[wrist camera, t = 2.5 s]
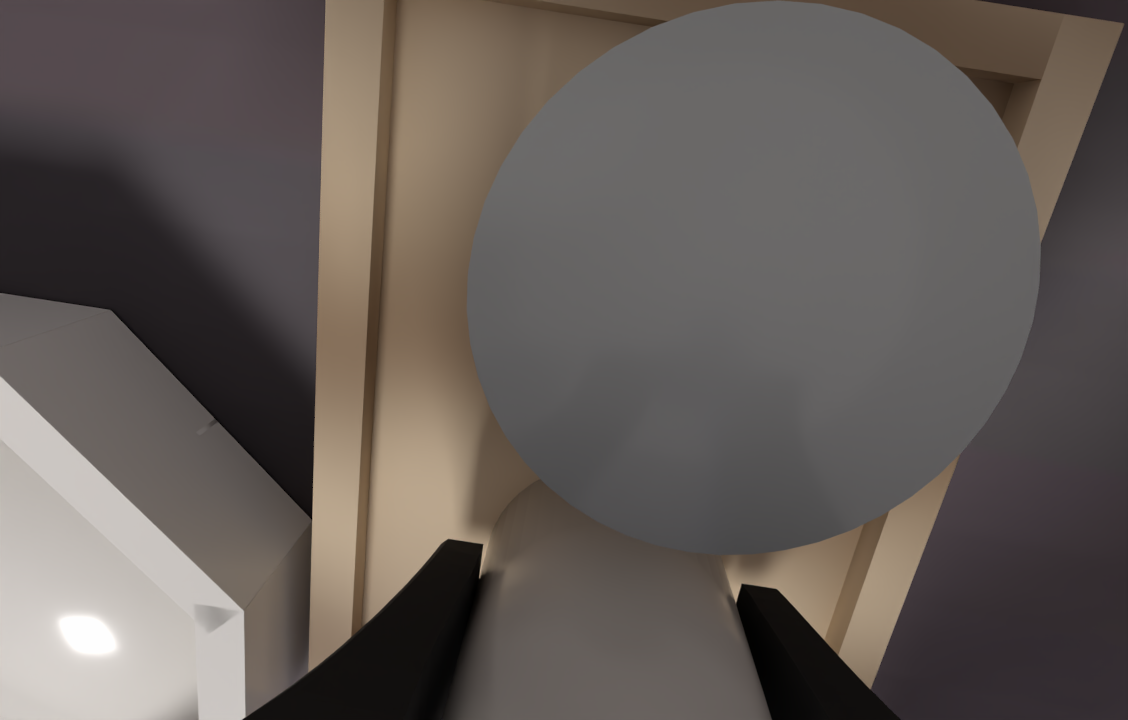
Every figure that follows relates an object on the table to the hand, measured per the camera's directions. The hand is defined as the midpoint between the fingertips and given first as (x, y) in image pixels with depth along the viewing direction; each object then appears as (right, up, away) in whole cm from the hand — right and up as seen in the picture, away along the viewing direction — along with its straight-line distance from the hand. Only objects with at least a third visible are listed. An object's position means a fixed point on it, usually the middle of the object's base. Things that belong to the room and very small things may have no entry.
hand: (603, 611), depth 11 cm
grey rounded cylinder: (0, 0, +1) cm, 1 cm away
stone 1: (+1, +6, -1) cm, 7 cm away
